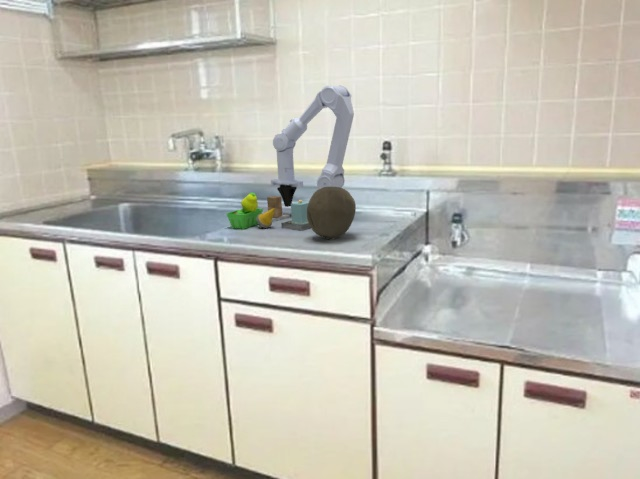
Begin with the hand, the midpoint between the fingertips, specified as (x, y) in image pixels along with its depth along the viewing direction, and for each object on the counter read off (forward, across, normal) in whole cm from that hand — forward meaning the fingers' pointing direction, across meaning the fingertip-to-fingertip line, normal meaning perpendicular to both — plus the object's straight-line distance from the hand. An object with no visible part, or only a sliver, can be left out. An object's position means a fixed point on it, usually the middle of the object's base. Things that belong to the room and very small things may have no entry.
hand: (288, 206), depth 193 cm
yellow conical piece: (+4, +8, -18) cm, 20 cm away
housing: (+2, +17, -10) cm, 20 cm away
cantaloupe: (+4, +36, -18) cm, 40 cm away
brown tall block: (+2, 0, -7) cm, 7 cm away
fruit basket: (+4, 0, -19) cm, 20 cm away
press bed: (+3, +17, -10) cm, 20 cm away
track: (+3, 0, -8) cm, 8 cm away
